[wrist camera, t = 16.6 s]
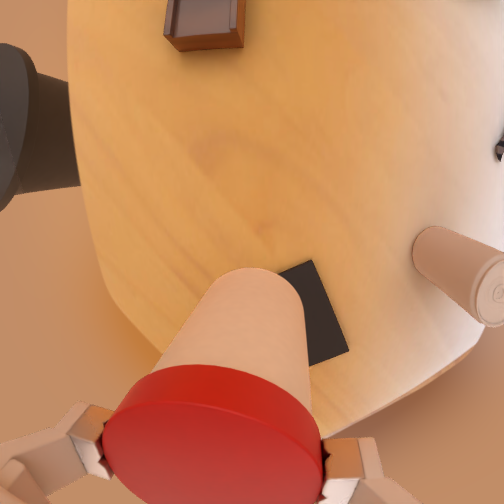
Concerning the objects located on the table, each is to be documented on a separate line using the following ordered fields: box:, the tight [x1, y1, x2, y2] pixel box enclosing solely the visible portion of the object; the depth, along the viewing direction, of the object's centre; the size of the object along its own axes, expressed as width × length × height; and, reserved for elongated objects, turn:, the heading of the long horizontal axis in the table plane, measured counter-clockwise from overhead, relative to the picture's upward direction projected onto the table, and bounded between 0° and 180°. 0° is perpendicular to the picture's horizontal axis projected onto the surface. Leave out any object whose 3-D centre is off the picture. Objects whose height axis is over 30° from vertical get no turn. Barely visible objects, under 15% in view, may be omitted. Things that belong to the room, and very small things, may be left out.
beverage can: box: [412, 226, 504, 327], centre depth 21 cm, size 5×5×12 cm
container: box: [102, 268, 323, 504], centre depth 12 cm, size 11×6×6 cm
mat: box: [277, 260, 349, 366], centre depth 30 cm, size 10×10×1 cm
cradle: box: [163, 0, 246, 52], centre depth 22 cm, size 8×6×4 cm
